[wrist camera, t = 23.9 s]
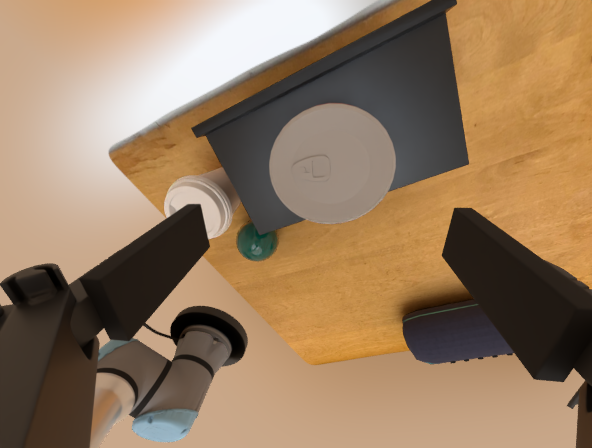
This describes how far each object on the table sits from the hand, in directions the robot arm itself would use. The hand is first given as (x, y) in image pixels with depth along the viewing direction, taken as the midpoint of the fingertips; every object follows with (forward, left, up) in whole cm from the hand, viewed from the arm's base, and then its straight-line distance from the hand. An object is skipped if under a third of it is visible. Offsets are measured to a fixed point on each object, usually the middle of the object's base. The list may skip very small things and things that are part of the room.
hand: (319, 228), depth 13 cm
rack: (0, +2, -31) cm, 31 cm away
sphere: (-13, -17, -31) cm, 38 cm away
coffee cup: (-18, -7, -31) cm, 37 cm away
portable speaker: (+29, -34, -31) cm, 54 cm away
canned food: (+1, +2, -15) cm, 15 cm away
